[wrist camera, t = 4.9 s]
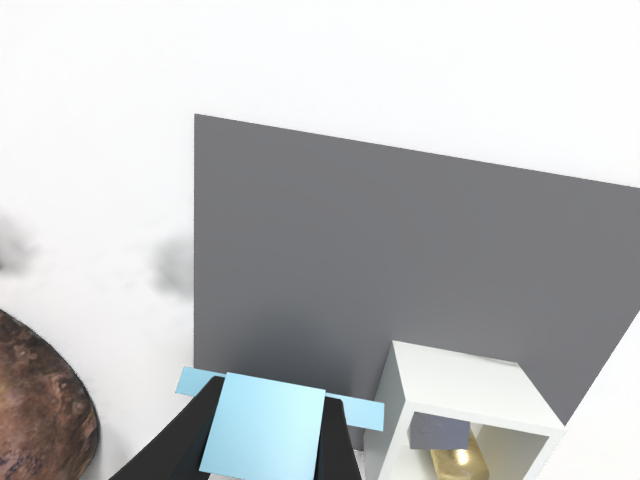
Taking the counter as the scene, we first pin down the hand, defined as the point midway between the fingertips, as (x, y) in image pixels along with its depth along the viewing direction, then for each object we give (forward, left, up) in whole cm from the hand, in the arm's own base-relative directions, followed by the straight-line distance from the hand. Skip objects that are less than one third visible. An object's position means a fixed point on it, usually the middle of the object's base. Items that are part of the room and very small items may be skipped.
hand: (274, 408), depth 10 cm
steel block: (-6, -9, -8) cm, 13 cm away
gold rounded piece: (-9, -11, -8) cm, 16 cm away
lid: (-3, 0, -4) cm, 5 cm away
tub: (-7, -10, -8) cm, 15 cm away
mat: (-2, -6, -9) cm, 11 cm away
